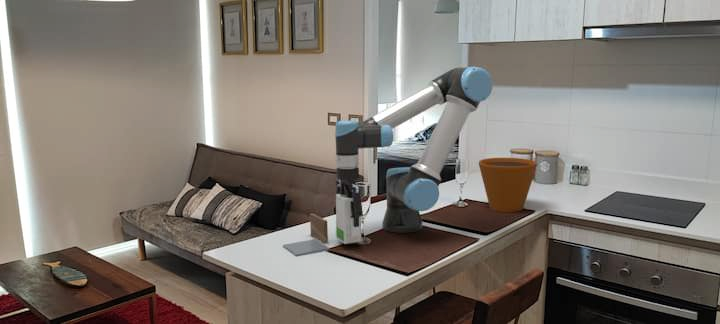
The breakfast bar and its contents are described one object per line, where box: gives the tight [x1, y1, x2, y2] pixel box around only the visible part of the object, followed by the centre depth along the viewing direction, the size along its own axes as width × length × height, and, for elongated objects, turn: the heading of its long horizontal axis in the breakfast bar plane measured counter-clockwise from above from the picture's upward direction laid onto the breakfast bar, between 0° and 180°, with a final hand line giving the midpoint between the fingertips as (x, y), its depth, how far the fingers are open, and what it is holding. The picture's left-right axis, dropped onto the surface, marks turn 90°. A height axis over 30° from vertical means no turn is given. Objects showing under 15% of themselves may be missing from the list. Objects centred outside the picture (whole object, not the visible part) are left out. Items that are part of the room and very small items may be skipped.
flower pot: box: [478, 157, 538, 213], centre depth 229 cm, size 24×24×20 cm
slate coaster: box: [282, 238, 331, 257], centre depth 181 cm, size 12×12×1 cm
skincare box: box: [335, 193, 362, 245], centre depth 182 cm, size 8×7×16 cm
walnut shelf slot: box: [309, 213, 329, 245], centre depth 194 cm, size 13×12×8 cm
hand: (349, 232), depth 183 cm, fingers closed on skincare box, 8 cm apart
